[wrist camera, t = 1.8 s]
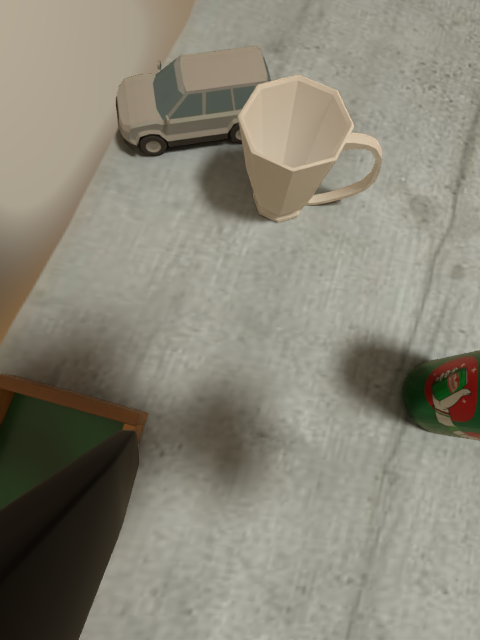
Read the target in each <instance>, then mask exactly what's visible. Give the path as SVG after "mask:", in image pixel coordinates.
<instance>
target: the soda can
mask: <svg viewBox="0 0 480 640" xmlns="http://www.w3.org/2000/svg"><path fill="white" fill-rule="evenodd" d="M402 395H403V402H404V405H405V408H406V410H407V412H408V414H409V415H410V417H411V418H412V419H413V420H414V422H415V423H417V424H418V425H419V426H420V427H422V428H423V429H425V430H427V431H429V432H432V433H435V434H441V435H447V436H453V437H460V438H466V439H473V440H479V441H480V350H479V351H474V352H469V353H465V354H460V355H455V356H451V357H446V358H441V359H437V360H432V361H427V362H423V363H421V364H419V365H417V366H415V367H414V368H413V369H412V370H411V371H410V372H409V373H408V375H407V377H406V378H405V381H404V384H403V393H402Z"/></svg>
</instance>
